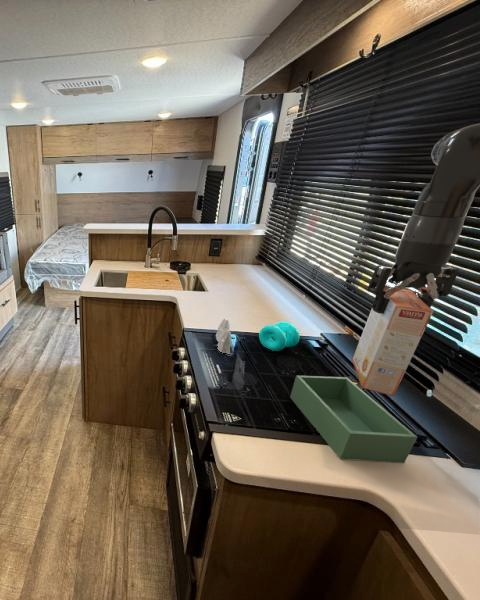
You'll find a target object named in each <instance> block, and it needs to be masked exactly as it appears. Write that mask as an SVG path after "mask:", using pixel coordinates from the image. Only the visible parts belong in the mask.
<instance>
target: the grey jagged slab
mask: <svg viewBox="0 0 480 600" xmlns="http://www.w3.org/2000/svg"><path fill="white" fill-rule="evenodd" d="M215 340H216V341H217V342H218V343H217V344H216V347H217V346H218V347H217V349H218V350H219V351H220V352H222V353H221V354H223V353H227V354H230V355H231V344H232V333H231V330H230V321H229V319H227V318H225V317H224V318H223V319H222V320H221V322H220V323H219V325H218V327H217V331H216V334H215ZM218 350H217V351H218ZM219 351H218V352H219ZM220 352H219V353H220ZM227 354H226V355H227Z"/></svg>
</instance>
